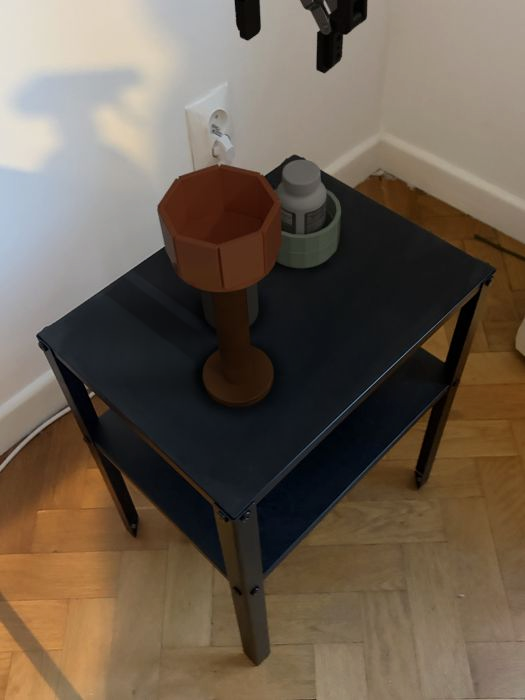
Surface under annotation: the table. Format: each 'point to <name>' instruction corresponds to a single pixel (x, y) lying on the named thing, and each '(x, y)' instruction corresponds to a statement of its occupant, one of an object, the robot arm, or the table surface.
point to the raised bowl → (221, 227)
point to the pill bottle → (302, 198)
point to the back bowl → (312, 240)
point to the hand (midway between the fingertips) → (287, 51)
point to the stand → (235, 355)
